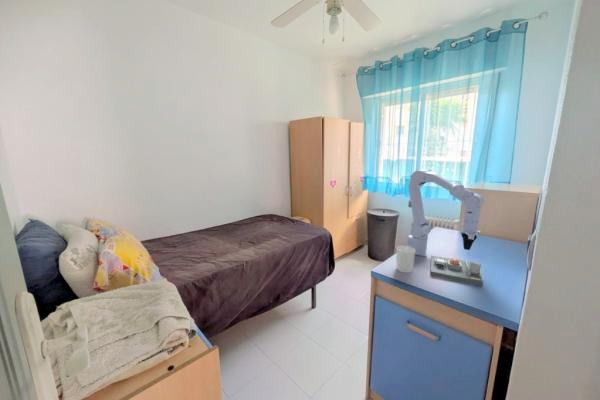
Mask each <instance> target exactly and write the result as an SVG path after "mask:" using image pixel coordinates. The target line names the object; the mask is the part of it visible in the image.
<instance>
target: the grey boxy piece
mask: <svg viewBox="0 0 600 400" xmlns="http://www.w3.org/2000/svg"><path fill="white" fill-rule="evenodd" d="M469 262H470V267H469V271H470V272H471V274H474V275H478V272H479V273H481V267H482V266H481V265H482V264H481V263H479V262H476V263H474V262H473V261H472V262H471V261H469Z"/></svg>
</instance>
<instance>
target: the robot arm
mask: <svg viewBox="0 0 600 400" xmlns="http://www.w3.org/2000/svg"><path fill="white" fill-rule="evenodd" d="M427 183H434V184H436V185H437V186H440V187H441V188H444V189H445V190H447V191H448V192H449V195H450V196H452V197H453V198H455V199H456V200H458V201H460V202H462V203H463V205H465V207H464V212H463V213H464V214H463V220H462V227H461V229H460V230H461V232H460V234H461V238H462V243H463V245H462V246H463V250H467V251H470V250H471V247H473V243H474V242H475V241H476V240H477V237H478V236H477V234H481V230H478V229H479V224H480V217H481V210H482V205H483V204H484V202H485V199H484V196H482V195H481V193H478V192H477V193H476V192H475V191H474V190H469V189H468V188H466V187H465V185H463V184H461V183H460V184H459V183H458V184H454V183H452V182H450V181H449V180H447V179H445V178H444V177H442V176H441V175H440V174H437V173H436V172H435V171H433V170H431V169H428V168H425V169H419V170H415V171H413V172H412V174H411V175H410V180H409V183H408V194H409V200H410V206H411V211H412V212H411V213H412V217H413V218H412V219H413V220H412V222H411V224H410V225H411V226H410V227H411V228H410V234H411V235H410V234H408V236H407V237H408V238H407V245H406V246H409V247H412V248H414V249H415V256H416V255H417V256H422V257H427V256H428V250H427V249H428V240H429V239H428V237H429V234H430V233H431V229H432V228H431V226H430V225H429V222H428V220H427V219H426V217H425V212H424V211H425V210H424V205H423V198H422V191H421V188H422V187H423V186H425V184H427Z"/></svg>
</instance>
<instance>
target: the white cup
mask: <svg viewBox="0 0 600 400" xmlns="http://www.w3.org/2000/svg"><path fill="white" fill-rule="evenodd" d="M415 256H416V255H415V249H414V248H412V247H409V246H407V245H398V246H397V247H396V256H395V257H396V260H395V261H396V267H395V268H396V270H398V271H399V272H401V273H406V274H408V273H412V272H413V267H414V262H415Z"/></svg>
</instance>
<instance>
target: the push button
mask: <svg viewBox="0 0 600 400" xmlns="http://www.w3.org/2000/svg"><path fill="white" fill-rule="evenodd" d="M450 259H451V264H454V265H458V264H459V258H458V259H457V258H450Z"/></svg>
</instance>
